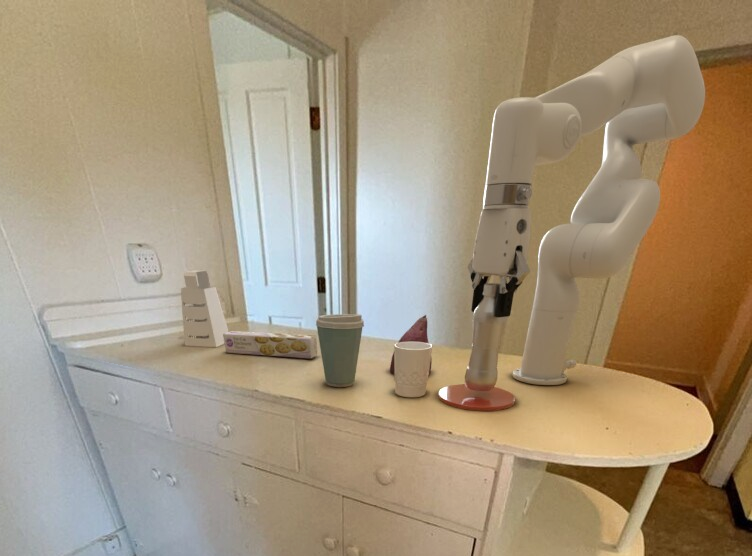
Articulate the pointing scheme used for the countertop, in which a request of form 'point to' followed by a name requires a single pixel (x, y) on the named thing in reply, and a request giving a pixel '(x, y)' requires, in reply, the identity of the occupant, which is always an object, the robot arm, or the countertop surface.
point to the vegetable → (414, 337)
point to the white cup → (411, 368)
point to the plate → (476, 398)
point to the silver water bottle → (485, 341)
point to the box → (271, 344)
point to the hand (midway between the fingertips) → (490, 313)
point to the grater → (202, 312)
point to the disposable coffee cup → (340, 347)
